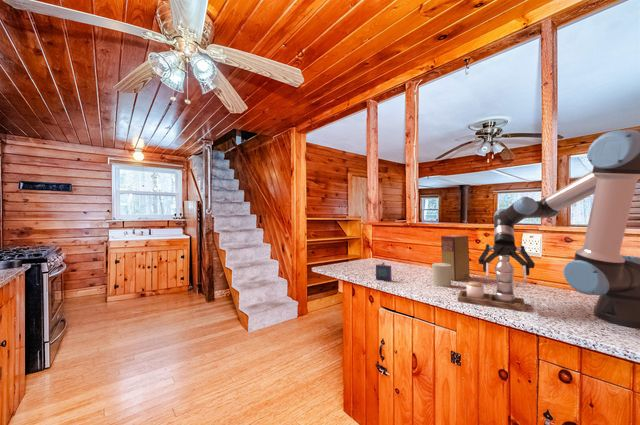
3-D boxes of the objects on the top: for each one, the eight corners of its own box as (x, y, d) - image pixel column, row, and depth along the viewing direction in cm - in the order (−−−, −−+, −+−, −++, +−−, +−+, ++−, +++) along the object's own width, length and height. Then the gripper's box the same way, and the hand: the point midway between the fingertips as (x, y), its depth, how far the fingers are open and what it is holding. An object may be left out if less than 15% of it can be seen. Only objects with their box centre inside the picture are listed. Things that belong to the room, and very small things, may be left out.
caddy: (523, 305, 110) (523, 298, 110) (525, 314, 101) (525, 306, 101) (461, 296, 123) (461, 290, 123) (458, 303, 114) (457, 296, 114)
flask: (392, 280, 154) (391, 262, 154) (390, 281, 152) (390, 262, 152) (376, 278, 159) (376, 261, 159) (375, 280, 156) (374, 261, 156)
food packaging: (456, 274, 164) (455, 234, 163) (470, 278, 155) (469, 235, 155) (441, 277, 158) (440, 235, 158) (455, 281, 149) (454, 236, 149)
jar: (484, 299, 116) (483, 282, 116) (483, 303, 111) (483, 285, 110) (467, 296, 119) (467, 280, 119) (466, 301, 114) (465, 283, 114)
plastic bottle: (516, 308, 104) (515, 257, 104) (495, 305, 108) (494, 256, 108) (514, 303, 110) (513, 255, 110) (495, 300, 114) (493, 254, 113)
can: (453, 289, 135) (453, 265, 135) (434, 288, 137) (434, 265, 137) (448, 284, 144) (448, 262, 144) (430, 283, 146) (430, 261, 146)
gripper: (538, 244, 115) (543, 288, 102) (473, 241, 128) (471, 280, 116) (539, 233, 110) (545, 277, 98) (472, 231, 124) (470, 271, 111)
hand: (505, 279), depth 107 cm, fingers open, 12 cm apart
